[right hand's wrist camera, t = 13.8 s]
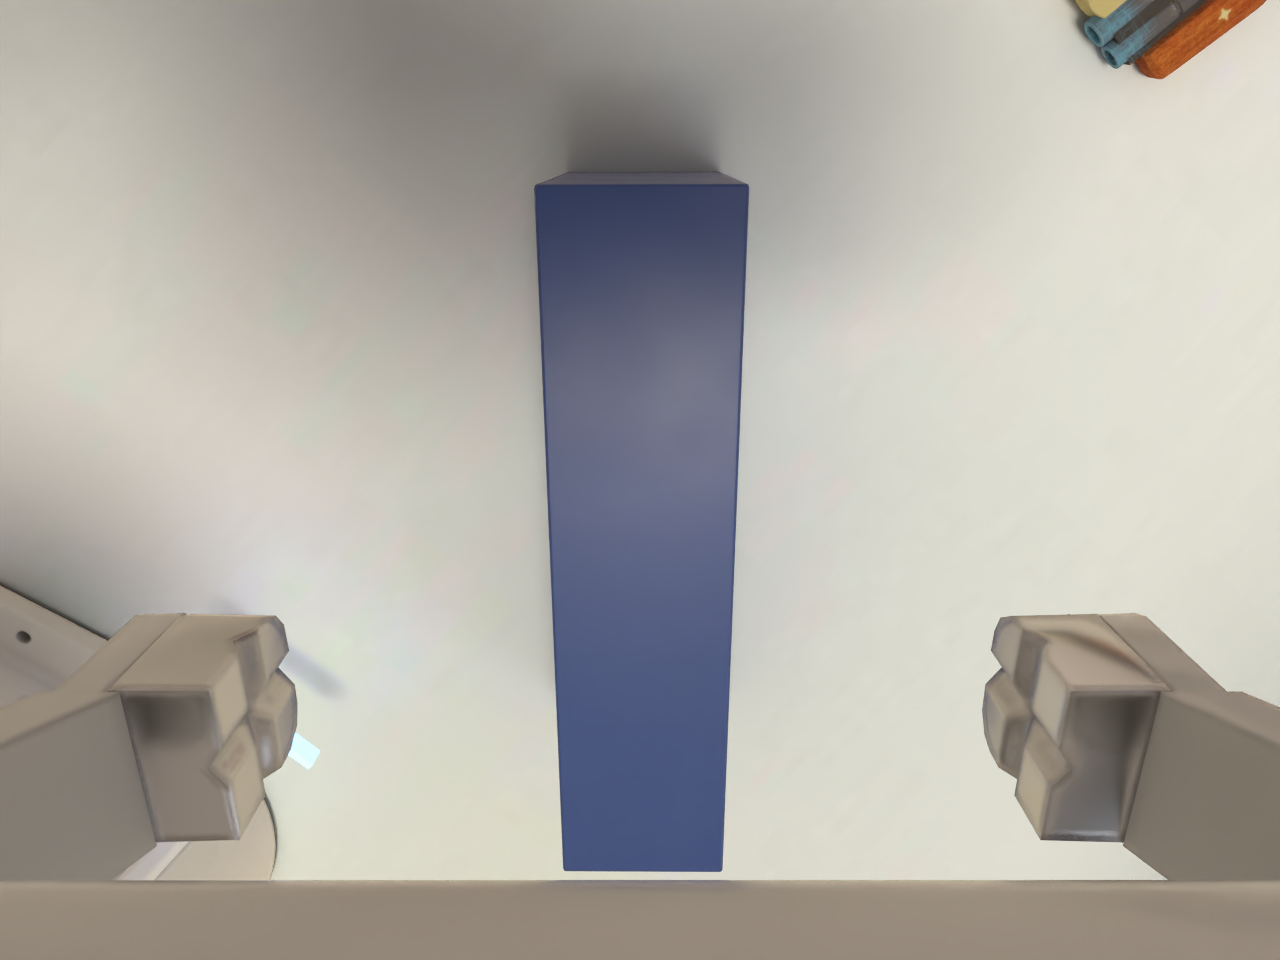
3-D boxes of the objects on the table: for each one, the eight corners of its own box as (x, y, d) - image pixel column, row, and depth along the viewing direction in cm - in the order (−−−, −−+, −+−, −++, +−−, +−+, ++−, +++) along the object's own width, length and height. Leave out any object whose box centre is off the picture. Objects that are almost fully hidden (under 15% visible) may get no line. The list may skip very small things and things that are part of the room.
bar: (565, 171, 32) (533, 184, 23) (720, 171, 32) (749, 183, 23) (582, 708, 40) (563, 871, 31) (705, 708, 40) (722, 873, 31)
